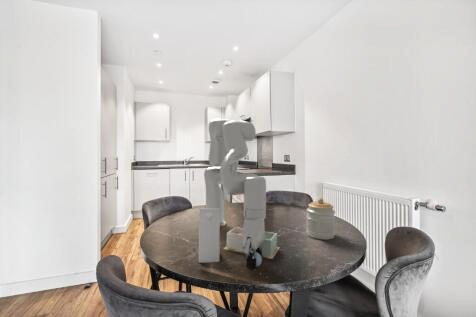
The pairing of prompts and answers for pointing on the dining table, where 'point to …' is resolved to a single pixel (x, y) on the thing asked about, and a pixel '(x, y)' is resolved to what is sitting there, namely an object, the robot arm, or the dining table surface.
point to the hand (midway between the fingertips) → (254, 265)
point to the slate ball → (258, 259)
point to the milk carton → (209, 234)
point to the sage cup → (269, 244)
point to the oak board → (262, 255)
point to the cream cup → (235, 239)
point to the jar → (320, 220)
